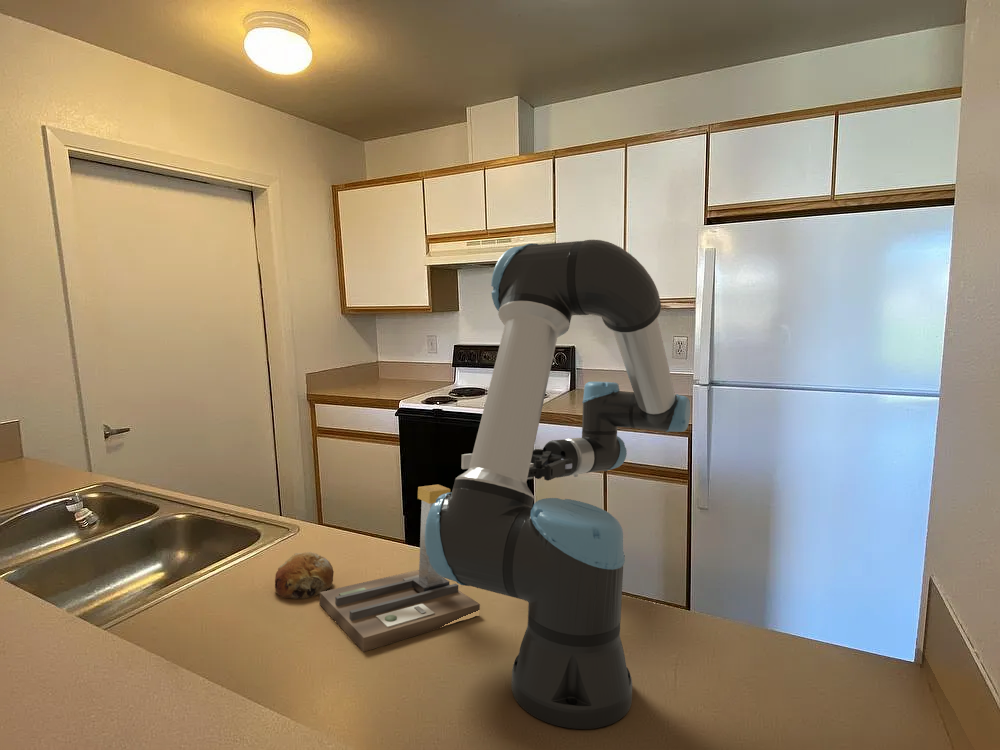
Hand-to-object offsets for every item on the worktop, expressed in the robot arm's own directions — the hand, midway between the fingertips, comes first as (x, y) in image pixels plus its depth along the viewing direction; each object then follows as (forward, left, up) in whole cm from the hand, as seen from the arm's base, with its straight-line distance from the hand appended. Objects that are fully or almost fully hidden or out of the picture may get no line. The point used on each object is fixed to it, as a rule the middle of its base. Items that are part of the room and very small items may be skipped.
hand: (481, 467), depth 99 cm
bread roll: (+17, +26, -23) cm, 38 cm away
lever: (0, +10, -20) cm, 22 cm away
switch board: (0, +16, -22) cm, 27 cm away
